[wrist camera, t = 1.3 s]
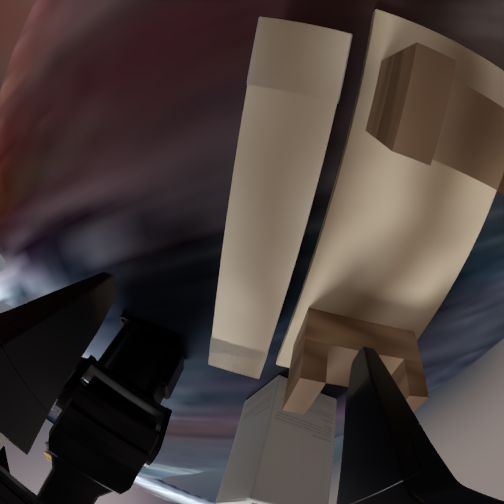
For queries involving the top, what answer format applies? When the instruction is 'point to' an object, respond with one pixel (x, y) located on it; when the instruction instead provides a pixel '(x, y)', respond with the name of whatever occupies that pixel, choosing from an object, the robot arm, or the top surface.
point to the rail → (274, 182)
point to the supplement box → (280, 451)
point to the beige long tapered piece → (398, 209)
